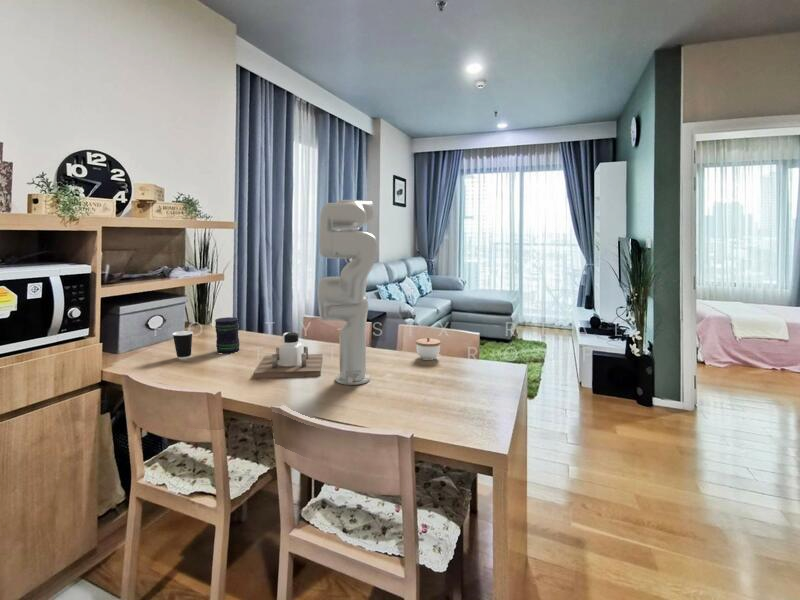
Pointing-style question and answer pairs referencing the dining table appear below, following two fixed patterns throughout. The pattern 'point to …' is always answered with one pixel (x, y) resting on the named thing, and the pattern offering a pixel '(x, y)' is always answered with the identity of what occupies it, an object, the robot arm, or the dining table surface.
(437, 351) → the lidded jar
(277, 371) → the peg board
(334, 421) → the dining table surface
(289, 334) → the medicine bottle
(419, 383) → the dining table surface
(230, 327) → the storage jar
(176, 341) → the dixie cup
